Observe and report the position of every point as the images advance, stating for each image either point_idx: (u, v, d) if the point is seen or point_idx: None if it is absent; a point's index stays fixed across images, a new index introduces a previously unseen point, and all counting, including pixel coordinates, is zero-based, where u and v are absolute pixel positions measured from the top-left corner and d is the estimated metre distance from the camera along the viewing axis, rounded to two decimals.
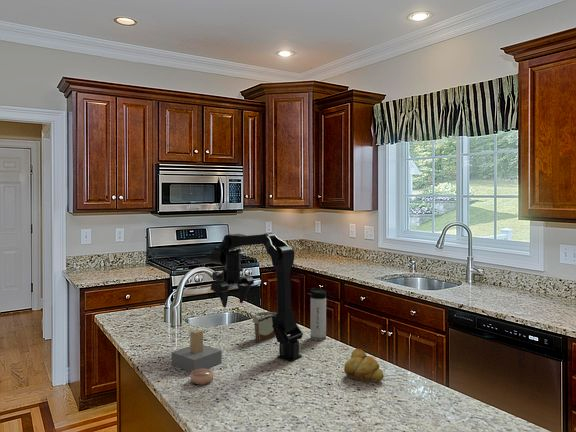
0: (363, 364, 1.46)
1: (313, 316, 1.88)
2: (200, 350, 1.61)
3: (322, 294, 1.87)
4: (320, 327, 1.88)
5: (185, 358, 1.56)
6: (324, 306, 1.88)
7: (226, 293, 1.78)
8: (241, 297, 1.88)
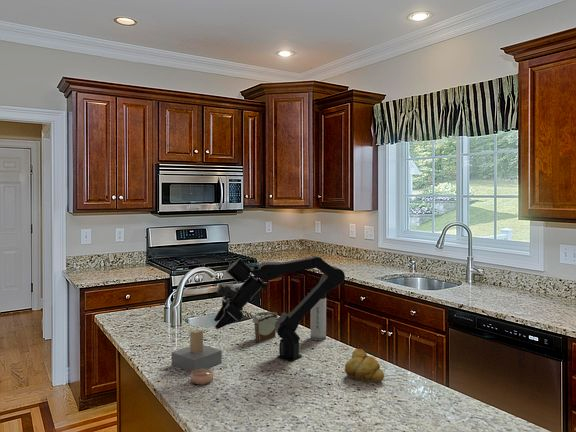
0: (364, 364, 1.46)
1: (313, 316, 1.88)
2: (200, 350, 1.61)
3: None
4: (320, 327, 1.88)
5: (185, 358, 1.56)
6: (324, 306, 1.88)
7: None
8: (220, 316, 1.67)
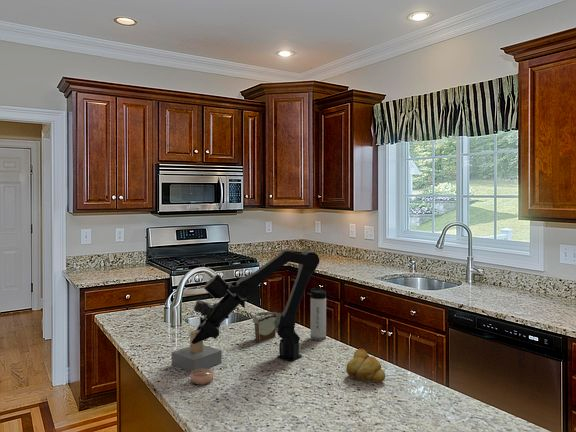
0: (365, 364, 1.46)
1: (313, 316, 1.88)
2: (200, 350, 1.61)
3: (322, 294, 1.87)
4: (320, 327, 1.88)
5: (185, 358, 1.56)
6: (324, 306, 1.88)
7: None
8: None
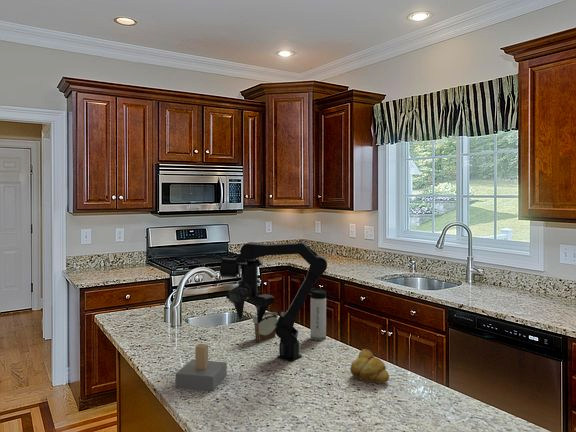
0: (368, 365, 1.46)
1: (313, 316, 1.88)
2: (207, 366, 1.47)
3: (322, 294, 1.87)
4: (320, 327, 1.88)
5: (198, 377, 1.40)
6: (324, 306, 1.88)
7: None
8: (241, 312, 1.72)
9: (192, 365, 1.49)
